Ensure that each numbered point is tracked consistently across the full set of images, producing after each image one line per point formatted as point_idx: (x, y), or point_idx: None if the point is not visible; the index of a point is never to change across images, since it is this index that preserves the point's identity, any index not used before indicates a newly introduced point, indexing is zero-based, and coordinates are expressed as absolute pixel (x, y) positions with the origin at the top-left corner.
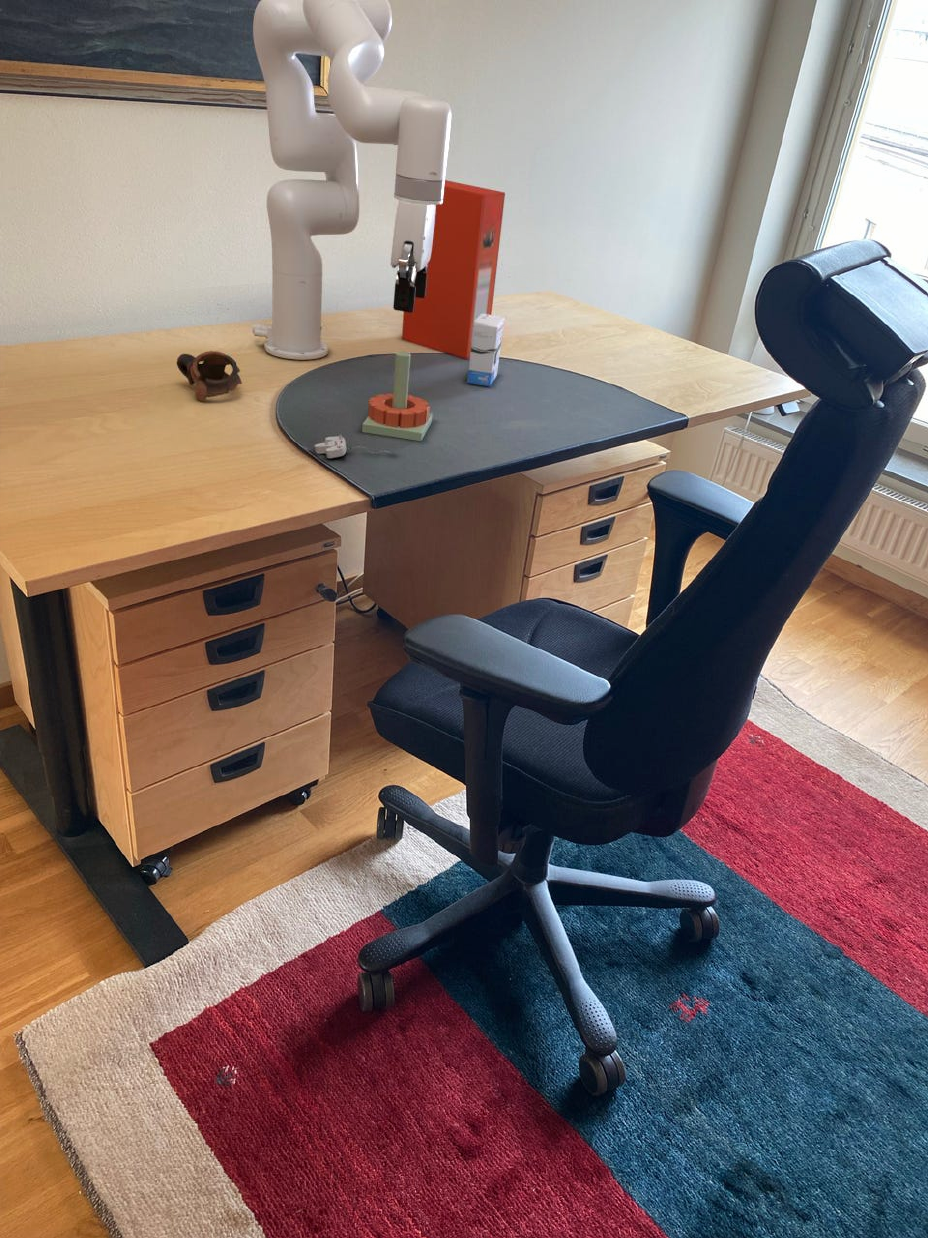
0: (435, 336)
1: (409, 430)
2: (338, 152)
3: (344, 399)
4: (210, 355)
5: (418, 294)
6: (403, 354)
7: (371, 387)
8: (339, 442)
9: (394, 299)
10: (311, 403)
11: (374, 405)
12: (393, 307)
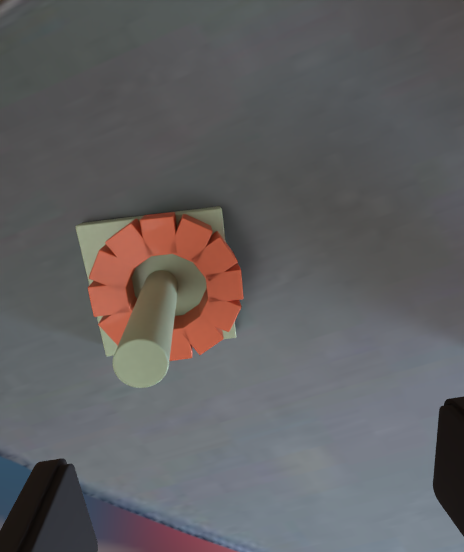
0: None
1: (102, 331)
2: None
3: (272, 98)
4: None
5: (443, 478)
6: (132, 368)
7: (392, 130)
8: None
9: (6, 521)
10: (196, 25)
11: (112, 246)
12: (35, 466)
